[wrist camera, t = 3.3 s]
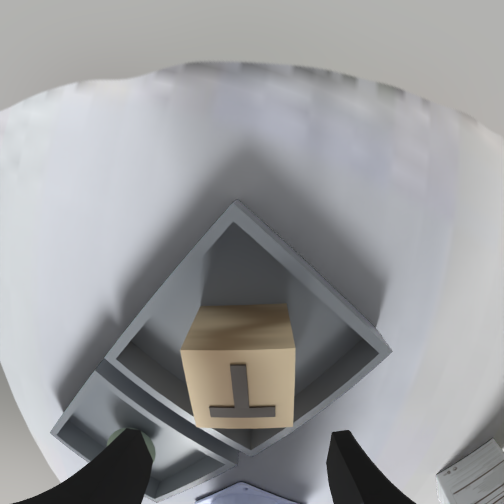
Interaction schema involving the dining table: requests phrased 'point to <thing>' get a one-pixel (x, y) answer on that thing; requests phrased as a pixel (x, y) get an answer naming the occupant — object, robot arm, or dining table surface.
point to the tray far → (149, 422)
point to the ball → (146, 438)
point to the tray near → (250, 293)
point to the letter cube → (241, 366)
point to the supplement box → (474, 478)
